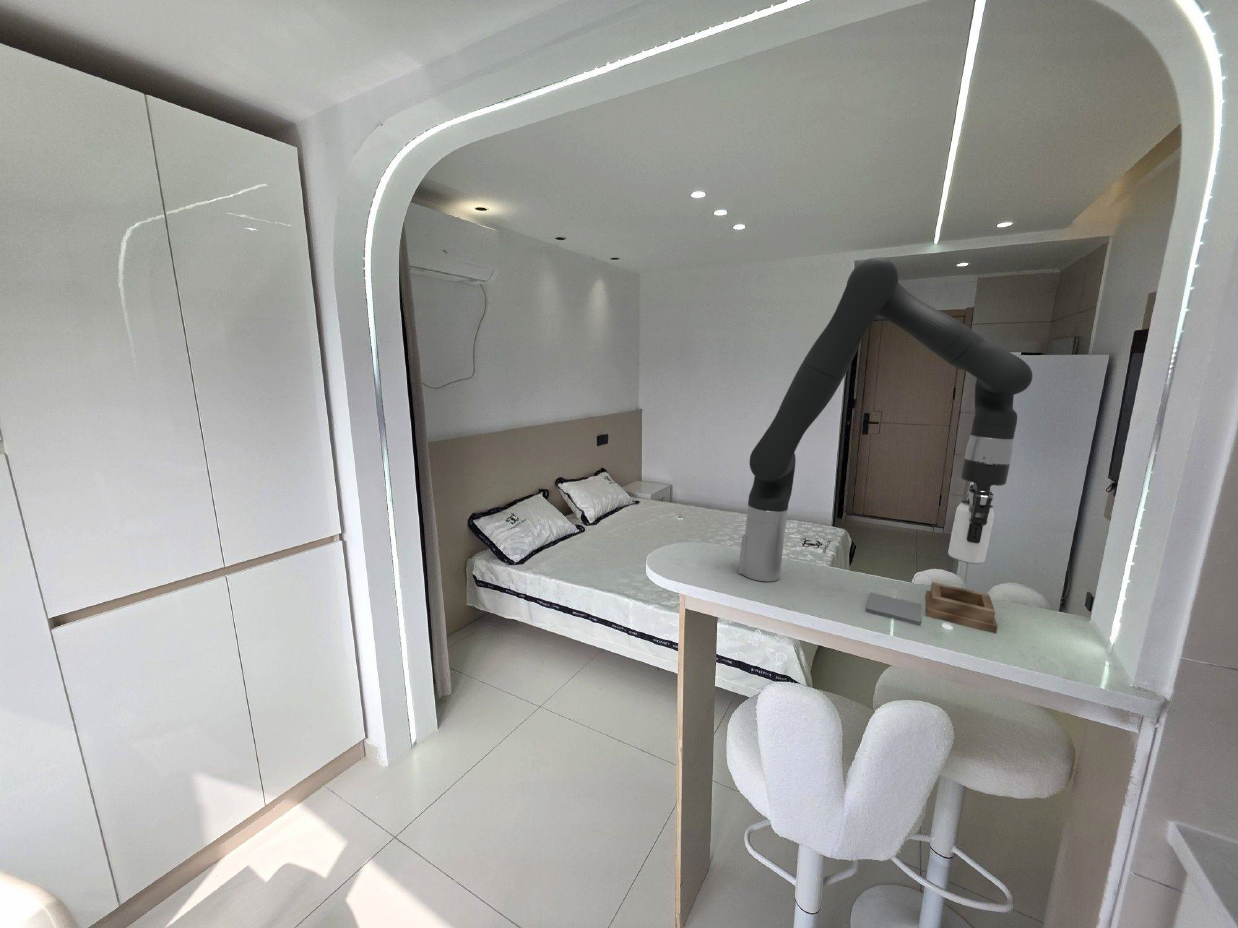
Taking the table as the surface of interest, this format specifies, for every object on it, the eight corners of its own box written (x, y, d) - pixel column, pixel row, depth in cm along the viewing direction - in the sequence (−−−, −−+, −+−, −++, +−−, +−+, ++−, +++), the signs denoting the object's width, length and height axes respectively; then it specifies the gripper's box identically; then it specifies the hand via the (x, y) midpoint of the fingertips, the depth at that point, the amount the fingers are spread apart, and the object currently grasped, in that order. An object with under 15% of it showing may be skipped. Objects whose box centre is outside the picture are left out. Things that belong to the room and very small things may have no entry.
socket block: (925, 615, 104) (928, 598, 103) (925, 596, 114) (928, 579, 114) (996, 633, 98) (1000, 614, 97) (989, 611, 108) (992, 593, 108)
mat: (865, 611, 105) (865, 607, 104) (869, 595, 113) (870, 592, 113) (920, 625, 100) (920, 621, 99) (920, 607, 108) (920, 604, 108)
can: (966, 564, 101) (977, 507, 99) (940, 553, 107) (950, 499, 105) (992, 564, 102) (1004, 508, 100) (965, 553, 108) (975, 500, 106)
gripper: (962, 453, 108) (948, 526, 111) (967, 460, 96) (951, 542, 99) (1004, 458, 105) (989, 534, 108) (1016, 466, 93) (998, 551, 95)
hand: (971, 537), depth 103 cm, fingers closed on can, 6 cm apart
